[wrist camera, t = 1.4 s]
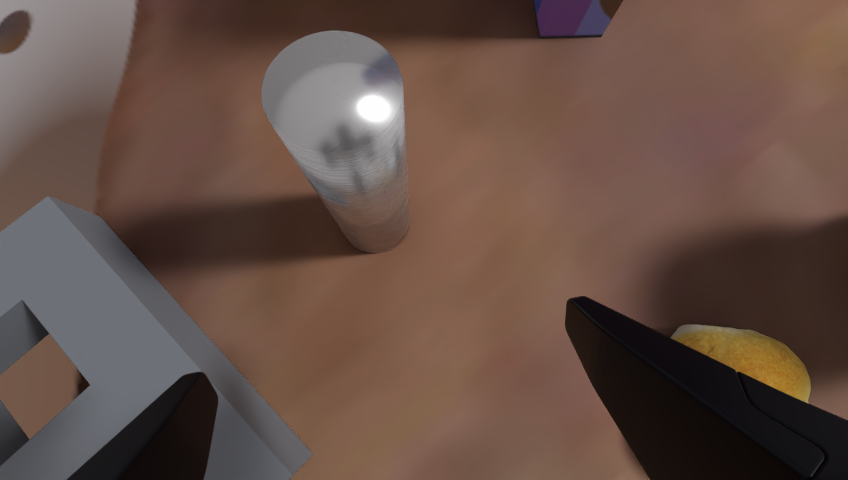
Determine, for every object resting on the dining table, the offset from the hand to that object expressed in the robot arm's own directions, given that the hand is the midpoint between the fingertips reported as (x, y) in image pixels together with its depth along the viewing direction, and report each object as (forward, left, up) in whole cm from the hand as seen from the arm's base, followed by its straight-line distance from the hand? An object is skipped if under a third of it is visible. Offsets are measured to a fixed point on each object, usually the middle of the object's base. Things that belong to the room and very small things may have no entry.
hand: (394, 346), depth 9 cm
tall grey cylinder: (+8, +3, -13) cm, 16 cm away
